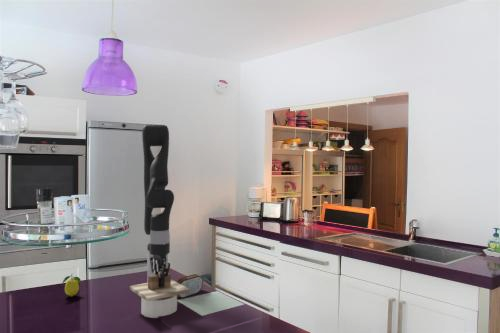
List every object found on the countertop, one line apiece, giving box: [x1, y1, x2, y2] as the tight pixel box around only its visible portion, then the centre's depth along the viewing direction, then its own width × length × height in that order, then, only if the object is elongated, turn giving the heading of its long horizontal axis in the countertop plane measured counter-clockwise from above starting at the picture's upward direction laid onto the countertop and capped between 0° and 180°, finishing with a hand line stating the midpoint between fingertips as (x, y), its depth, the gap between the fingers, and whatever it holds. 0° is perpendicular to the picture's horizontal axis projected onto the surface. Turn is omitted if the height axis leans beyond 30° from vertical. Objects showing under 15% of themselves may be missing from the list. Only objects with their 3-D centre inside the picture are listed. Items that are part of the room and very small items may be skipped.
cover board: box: [129, 272, 190, 301], centre depth 152 cm, size 17×17×6 cm
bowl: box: [140, 295, 178, 319], centre depth 152 cm, size 13×13×6 cm
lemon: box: [61, 274, 82, 297], centre depth 167 cm, size 7×6×10 cm
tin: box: [176, 273, 204, 299], centre depth 170 cm, size 15×3×8 cm, turn 141°
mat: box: [177, 290, 245, 317], centre depth 160 cm, size 20×20×1 cm
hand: (159, 285), depth 152 cm, fingers closed on cover board, 3 cm apart
